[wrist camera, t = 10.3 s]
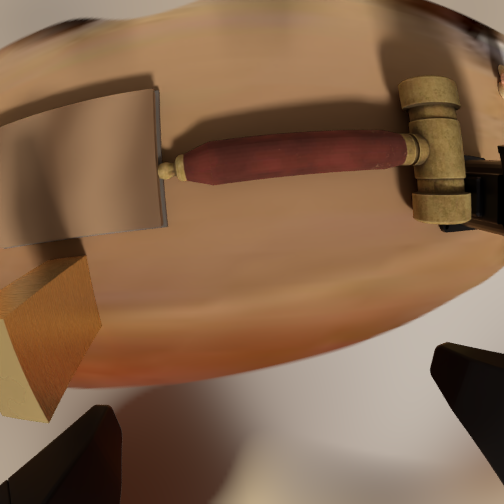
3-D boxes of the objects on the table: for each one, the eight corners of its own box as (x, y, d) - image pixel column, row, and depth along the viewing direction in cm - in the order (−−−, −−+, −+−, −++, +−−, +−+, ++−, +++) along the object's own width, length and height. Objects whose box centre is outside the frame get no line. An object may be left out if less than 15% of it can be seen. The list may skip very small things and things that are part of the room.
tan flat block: (159, 92, 16) (156, 84, 15) (168, 225, 18) (165, 229, 17) (-2, 131, 14) (-14, 129, 13) (7, 247, 16) (-5, 252, 15)
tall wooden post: (86, 255, 18) (3, 319, 8) (101, 325, 19) (49, 423, 9) (44, 260, 17) (-46, 319, 7) (62, 327, 18) (-3, 414, 9)
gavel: (162, 266, 16) (139, 81, 13) (176, 248, 20) (157, 102, 18) (483, 221, 17) (467, 80, 14) (445, 213, 21) (432, 93, 19)
